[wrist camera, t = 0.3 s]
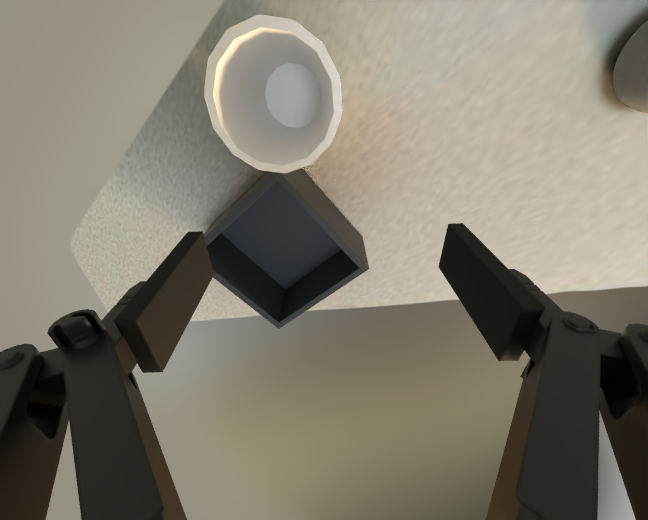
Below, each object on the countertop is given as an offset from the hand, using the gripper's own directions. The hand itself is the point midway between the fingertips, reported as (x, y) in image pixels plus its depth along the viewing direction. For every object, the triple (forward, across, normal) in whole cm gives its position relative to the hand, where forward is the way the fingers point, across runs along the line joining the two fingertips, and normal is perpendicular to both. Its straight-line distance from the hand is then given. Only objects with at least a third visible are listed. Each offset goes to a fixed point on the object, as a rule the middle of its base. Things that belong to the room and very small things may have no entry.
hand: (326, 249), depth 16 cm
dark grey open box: (+22, -5, -10) cm, 24 cm away
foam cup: (+22, -3, +6) cm, 23 cm away
